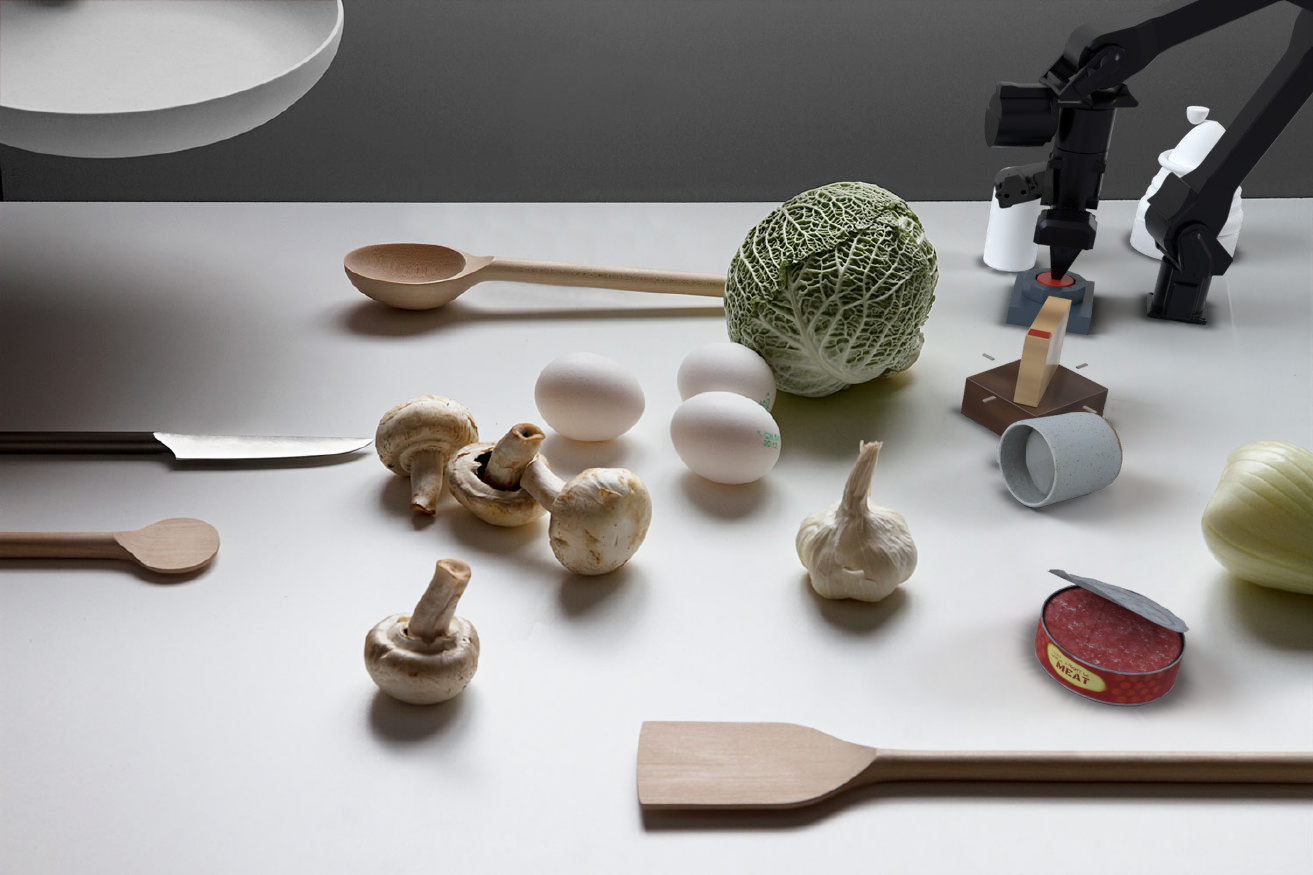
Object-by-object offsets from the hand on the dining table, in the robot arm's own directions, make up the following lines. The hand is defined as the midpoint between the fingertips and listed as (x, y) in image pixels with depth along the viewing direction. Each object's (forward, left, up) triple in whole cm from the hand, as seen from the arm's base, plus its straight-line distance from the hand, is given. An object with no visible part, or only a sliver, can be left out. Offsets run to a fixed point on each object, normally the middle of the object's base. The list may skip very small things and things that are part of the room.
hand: (1056, 278), depth 132 cm
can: (-13, -6, -4) cm, 15 cm away
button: (0, 0, -2) cm, 2 cm away
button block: (0, 0, -4) cm, 4 cm away
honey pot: (-27, +15, -4) cm, 31 cm away
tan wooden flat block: (+27, 0, 0) cm, 27 cm away
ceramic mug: (+39, +2, -4) cm, 39 cm away
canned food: (+61, +8, -4) cm, 62 cm away
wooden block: (+27, 0, -4) cm, 27 cm away
